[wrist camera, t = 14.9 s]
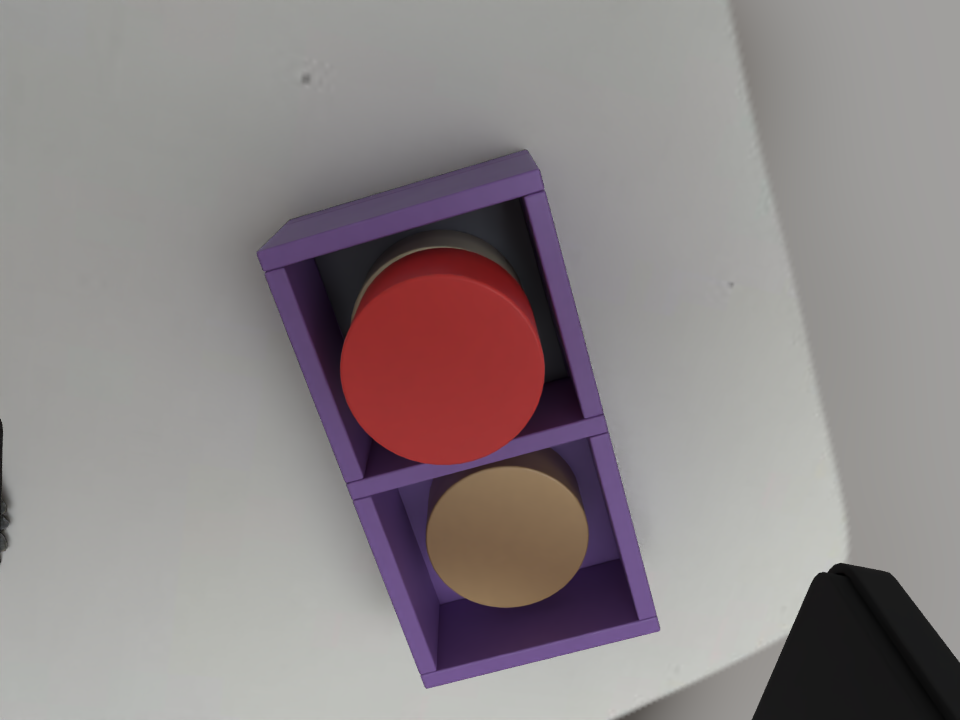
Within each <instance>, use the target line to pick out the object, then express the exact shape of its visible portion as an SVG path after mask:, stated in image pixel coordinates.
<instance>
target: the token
mask: <svg viewBox="0 0 960 720" xmlns="http://www.w3.org/2000/svg"><path fill="white" fill-rule="evenodd" d="M588 541H589V529H588V522H587V518H586V514H585V510H584V506H583V502H582V498H581V494H580V490H579V487H578V483H577V480H576V478H575V475H574V473H573V472H572V470H571V468H570V466H569V465H568V464H567V463H566V461H565V460H564V459H563V458H562V457H561V456H560V455H559V454H558V453H557V452H555V451H554V450H553V449H551V448H550V447H549V448H545V449H542V450H538V451H534V452H530V453H527V454H523V455H519V456H515V457H512V458H508V459H504V460H501V461H497V462H493V463H489V464H486V465H482V466H478V467H474V468H471V469H467V470H463V471H460V472H456V473H452V474H448V475H445V476H441V477H437V478H434V479H433V481H432V484H431V487H430V492H429V498H428V510H427V523H426V548H427V553H428V556H429V560H430V562H431V564H432V566H433V568H434V570H435V571H436V573H437V574H438V576H439V577H440V578H441V580H442V581H443V582H444V583H445V584H446V585H447V586H448V587H449V588H451V589H452V590H453V591H454V592H456V593H457V594H459V595H460V596H462V597H464V598H466V599H468V600H470V601H473V602H475V603H478V604H482V605H486V606H491V607H499V608H511V607H521V606H525V605H530V604H533V603H536V602H539V601H541V600H544V599H546V598H548V597H550V596H551V595H553V594H555V593H556V592H558V591H559V590H560V589H562V588H563V587H564V586H565V585H566V584H567V583H568V582H569V581H570V580H571V579H572V578H573V577H574V575H575V574H576V573H577V571H578V570H579V568H580V566H581V564H582V563H583V560H584V558H585V555H586V552H587V547H588Z"/></svg>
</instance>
